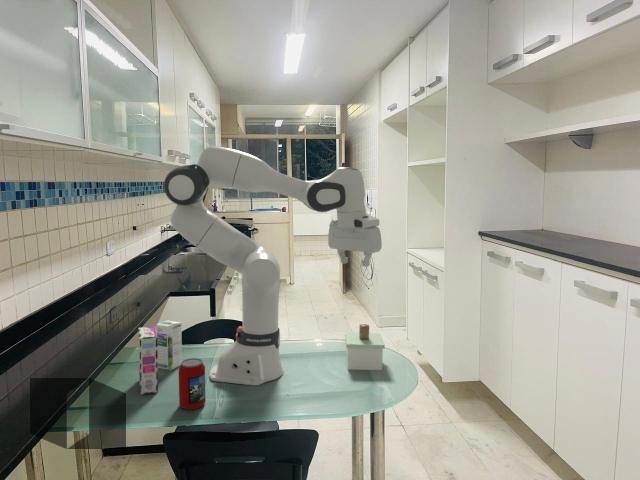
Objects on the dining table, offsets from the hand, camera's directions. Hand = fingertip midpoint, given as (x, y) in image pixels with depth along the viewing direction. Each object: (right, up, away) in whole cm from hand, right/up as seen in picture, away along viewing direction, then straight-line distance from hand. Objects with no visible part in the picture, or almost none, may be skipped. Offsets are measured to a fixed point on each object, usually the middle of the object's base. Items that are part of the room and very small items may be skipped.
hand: (354, 264), depth 141 cm
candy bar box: (-61, -35, -9) cm, 71 cm away
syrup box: (-59, -34, +6) cm, 69 cm away
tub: (+4, -34, +10) cm, 35 cm away
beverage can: (-45, -37, -20) cm, 61 cm away
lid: (+4, -27, +9) cm, 29 cm away
